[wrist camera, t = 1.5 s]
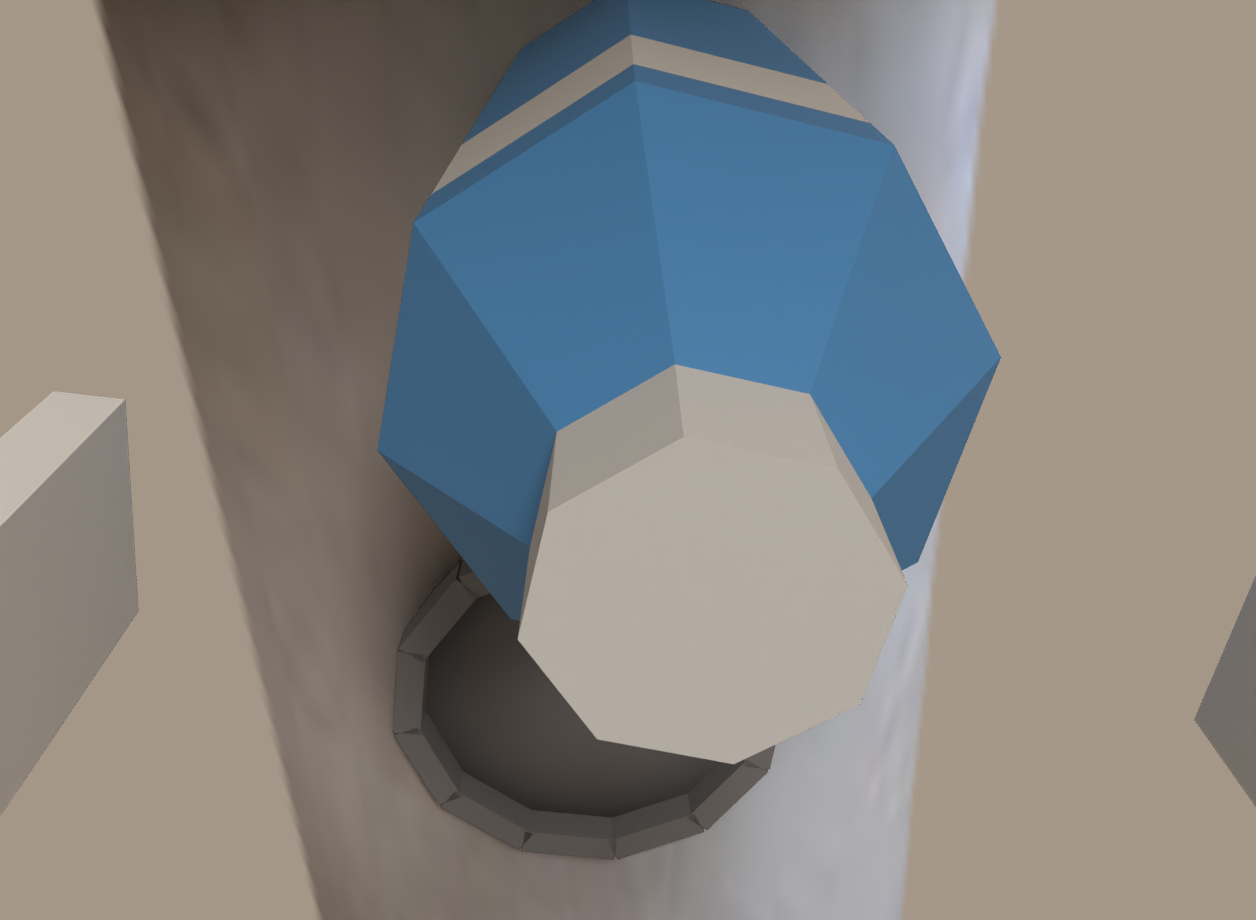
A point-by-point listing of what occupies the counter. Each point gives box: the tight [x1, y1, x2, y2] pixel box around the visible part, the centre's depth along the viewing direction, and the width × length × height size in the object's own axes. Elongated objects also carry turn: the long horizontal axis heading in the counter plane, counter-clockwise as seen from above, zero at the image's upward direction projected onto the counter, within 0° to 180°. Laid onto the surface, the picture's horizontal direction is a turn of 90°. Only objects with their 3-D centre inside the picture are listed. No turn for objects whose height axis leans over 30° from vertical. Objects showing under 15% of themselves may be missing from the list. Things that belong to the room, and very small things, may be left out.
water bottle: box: [378, 0, 1001, 764], centre depth 23 cm, size 9×9×25 cm
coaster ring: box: [393, 559, 775, 860], centre depth 43 cm, size 14×14×2 cm
